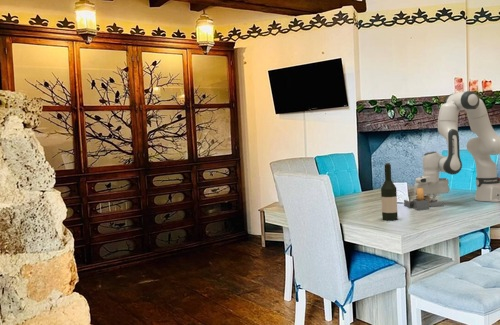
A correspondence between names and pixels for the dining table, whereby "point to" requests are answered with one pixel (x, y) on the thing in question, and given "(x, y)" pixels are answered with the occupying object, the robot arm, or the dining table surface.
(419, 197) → the round peg
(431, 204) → the bay
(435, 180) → the robot arm
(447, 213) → the dining table surface
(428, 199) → the crate
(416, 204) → the square tube sleeve
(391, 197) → the wine bottle
